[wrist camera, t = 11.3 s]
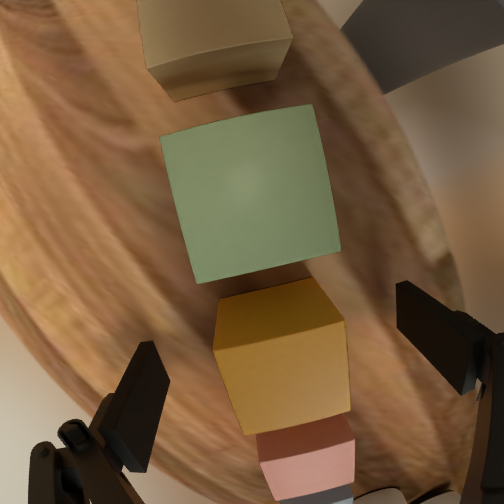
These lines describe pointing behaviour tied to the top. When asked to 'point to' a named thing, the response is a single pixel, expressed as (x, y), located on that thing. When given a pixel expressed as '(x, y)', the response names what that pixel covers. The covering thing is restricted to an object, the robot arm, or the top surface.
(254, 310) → the ochre block
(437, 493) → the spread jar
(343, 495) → the blue-grey block
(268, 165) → the sage block
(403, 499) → the milk bottle
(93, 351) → the top surface
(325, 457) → the dusty pink block
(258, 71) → the birch block
